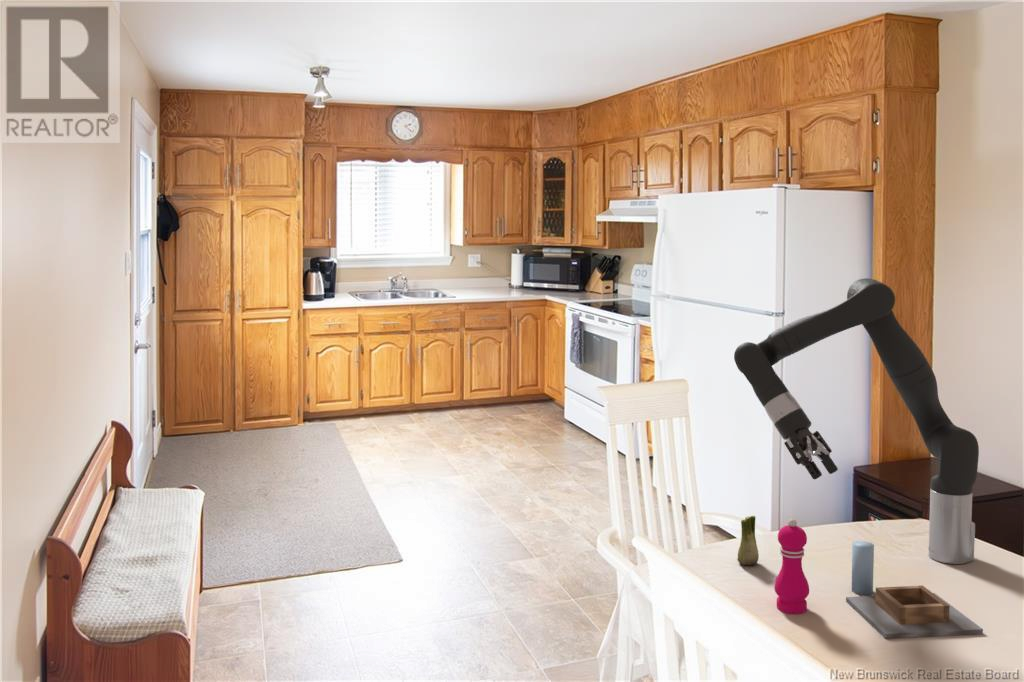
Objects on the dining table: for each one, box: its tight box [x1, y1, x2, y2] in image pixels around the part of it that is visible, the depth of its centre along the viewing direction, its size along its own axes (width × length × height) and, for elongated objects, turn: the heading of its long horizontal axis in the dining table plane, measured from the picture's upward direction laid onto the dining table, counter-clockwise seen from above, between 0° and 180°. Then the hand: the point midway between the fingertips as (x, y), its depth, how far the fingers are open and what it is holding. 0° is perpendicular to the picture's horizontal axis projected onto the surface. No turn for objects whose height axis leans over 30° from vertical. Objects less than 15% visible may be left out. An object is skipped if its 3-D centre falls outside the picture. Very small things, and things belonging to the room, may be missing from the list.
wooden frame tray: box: [845, 584, 984, 640], centre depth 179 cm, size 20×18×4 cm
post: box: [851, 540, 875, 596], centre depth 192 cm, size 4×4×11 cm
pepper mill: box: [774, 518, 810, 615], centre depth 184 cm, size 7×7×20 cm
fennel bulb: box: [736, 515, 759, 567], centre depth 210 cm, size 6×5×12 cm
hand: (826, 474), depth 196 cm, fingers open, 8 cm apart
